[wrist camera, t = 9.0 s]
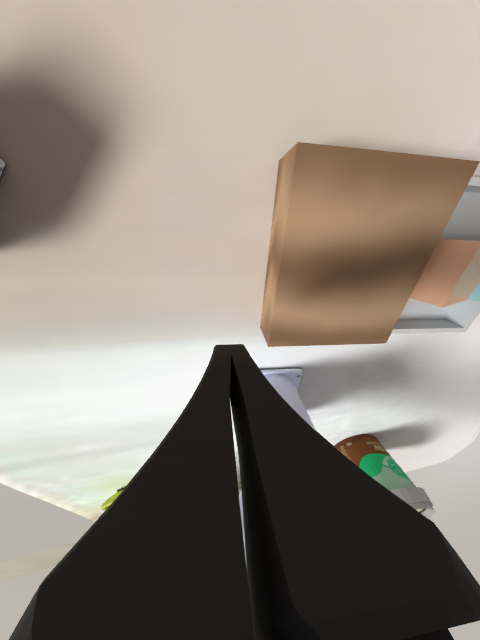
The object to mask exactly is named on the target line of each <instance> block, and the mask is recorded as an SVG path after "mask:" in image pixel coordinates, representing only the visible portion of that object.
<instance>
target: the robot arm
mask: <svg viewBox="0 0 480 640" xmlns="http://www.w3.org/2000/svg"><path fill="white" fill-rule="evenodd" d="M302 374H303V371H302V370H301V369H276V370H260V369H259V368H258V367H257V365H256V364H255V362H254V361H253V359H252V358H251V356H250V355H249V353H248V351H247V350H246V348H245V346H244V345H243V344H236V345H216V346H215V347H214V351H213V354H212V357H211V360H210V362H209V365H208V367H207V369H206V371H205V373H204V376H203V378H202V380H201V382H200V383H199V385H198V387H197V389H196V391H195V392H194V394H193V396H192V398H191V399H190V401H189V403H188V404H187V406H186V407H185V409H184V411H183V412H182V414H181V415H180V417H179V418H178V420H177V421H176V423H175V424H174V425H173V427H172V428H171V430H170V431H169V432H168V434H167V435H166V436H165V438H164V439H163V441H162V442H161V443H160V445H159V446H158V447H157V449H156V450H155V451H154V453H153V454H152V455H151V456H150V458H149V459H148V460H147V461H146V463H145V464H144V465H143V466H142V468H141V469H140V470H139V471H138V472H137V474H136V475H135V476H134V477H133V479H132V480H131V481H130V482H129V483H128V485H127V486H126V487H125V488H124V490H123V491H122V492H121V493H120V494H119V496H118V497H117V498H116V499H115V500H114V501H113V503H112V504H111V505H110V506H109V507H108V508H107V510H106V511H105V512H104V513H103V514H102V515H101V516H100V517H99V519H98V520H97V521H96V522H95V523H94V524H93V525H92V526H91V527H90V529H89V530H88V531H87V532H86V533H85V534H84V535H83V536H82V538H81V539H80V540H79V541H78V542H77V543H76V544H75V545H74V546H73V548H72V549H71V550H70V551H69V552H68V553H67V554H66V555H65V557H64V558H63V559H62V560H61V561H60V562H59V563H58V564H57V566H56V567H55V568H54V569H53V570H52V571H51V572H50V574H49V575H48V576H47V577H46V578H45V579H44V581H43V582H42V583H41V585H40V586H39V588H38V590H37V592H36V593H35V595H34V596H33V598H32V600H31V602H30V604H29V605H28V607H27V609H26V611H25V612H24V614H23V616H22V617H21V619H20V621H19V623H18V624H17V626H16V628H15V630H14V632H13V633H12V635H11V637H10V639H9V640H454V639H453V637H452V635H451V634H450V632H449V630H448V628H451V627H455V626H459V625H463V624H467V623H471V622H475V621H479V620H480V585H479V584H478V582H477V581H476V580H475V578H474V577H473V575H472V574H471V573H470V571H469V570H468V568H467V567H466V566H465V564H464V563H463V561H462V560H461V559H460V557H459V556H458V554H457V553H456V551H455V550H454V549H453V548H452V546H451V545H450V544H449V542H448V541H447V540H446V538H445V537H444V536H443V534H442V533H441V532H440V530H439V529H438V528H437V527H436V525H435V524H434V523H433V522H432V521H431V520H429V519H428V518H426V517H425V516H424V515H422V514H421V513H420V512H418V511H417V510H416V509H414V508H413V507H411V506H410V505H409V504H407V503H406V502H405V501H403V500H402V499H401V498H399V497H398V496H396V495H395V494H394V493H392V492H391V491H390V490H388V489H387V488H385V487H384V486H383V485H381V484H380V483H379V482H377V481H376V480H375V479H373V478H372V477H371V476H369V475H368V474H367V473H366V472H364V471H363V470H362V469H361V468H359V467H358V466H357V465H356V464H354V463H353V462H352V461H351V460H349V459H348V458H347V457H346V456H344V455H343V454H342V453H341V452H340V451H339V450H338V449H336V448H335V447H334V446H333V445H332V444H331V443H329V442H328V441H327V440H326V439H325V438H324V437H323V436H321V435H320V434H319V433H318V432H317V431H316V430H315V428H314V426H313V424H312V421H311V419H310V417H309V415H308V413H307V411H306V409H305V406H304V404H303V402H302V400H301V398H300V396H299V394H298V388H299V385H300V381H301V377H302ZM230 401H231V407H232V414H233V420H234V427H235V433H236V440H237V446H238V455H239V464H240V478H241V491H240V495H239V492H238V482H237V472H236V462H235V452H234V441H233V431H232V420H231V408H230Z"/></svg>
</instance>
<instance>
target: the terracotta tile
mask: <svg viewBox="0 0 480 640" xmlns="http://www.w3.org/2000/svg"><path fill="white" fill-rule="evenodd" d="M479 282H480V240H471V239H443V238H440V239H439V241H438V243H437V245H436V247H435V249H434V251H433V253H432V255H431V257H430V259H429V261H428V263H427V265H426V267H425V268H424V270H423V272H422V274H421V276H420V278H419V280H418V282H417V284H416V286H415V288H414V290H413V292H412V294H411V296H410V298H411V299H415V300H418V301H421V302H425V303H428V304H431V305H435V306H438V307H441V308H442V307H446V306H449V305H453V304H456V303H459V302H463V301H466V300H468V298H469V297H470V295H471V294H472V293H473V291H474V290H475V288H476V287H477V285H478V284H479Z"/></svg>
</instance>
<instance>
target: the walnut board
mask: <svg viewBox="0 0 480 640" xmlns="http://www.w3.org/2000/svg"><path fill="white" fill-rule="evenodd" d="M479 162H480V161H471V160H461V159H452V158H442V157H433V156H423V155H414V154H405V153H395V152H386V151H376V150H367V149H357V148H348V147H338V146H329V145H319V144H310V143H300V142H298V143H297V144H296V145H295V146H294V147H293V148H292V149H290V150H289V151H288V152H287V153H286V154H285V155H284V156H283V157H282V158H281V159H280V160H279V167H278V176H277V185H276V194H275V203H274V212H273V220H272V229H271V238H270V247H269V256H268V265H267V273H266V282H265V291H264V300H263V309H262V318H261V326H260V328H261V330H262V332H263V335H264V337H265V340H266V342H267V345H268V347H273V346H308V345H344V344H379V343H386V342H387V340H388V338H389V336H390V334H391V333H392V331H393V329H394V327H395V325H396V323H397V321H398V319H399V317H400V315H401V313H402V311H403V309H404V307H405V305H406V303H407V301H408V300H409V298H410V296H411V294H412V292H413V290H414V288H415V286H416V284H417V282H418V280H419V278H420V276H421V274H422V272H423V270H424V268H425V267H426V265H427V263H428V261H429V259H430V257H431V255H432V253H433V251H434V249H435V247H436V245H437V243H438V241H439V239H440V237H441V236H442V234H443V232H444V230H445V228H446V226H447V224H448V222H449V220H450V218H451V216H452V214H453V212H454V210H455V208H456V206H457V204H458V203H459V201H460V199H461V197H462V195H463V193H464V191H465V189H466V187H467V185H468V183H469V181H470V179H471V177H472V175H473V173H474V171H475V170H476V168H477V166H478V164H479Z"/></svg>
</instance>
